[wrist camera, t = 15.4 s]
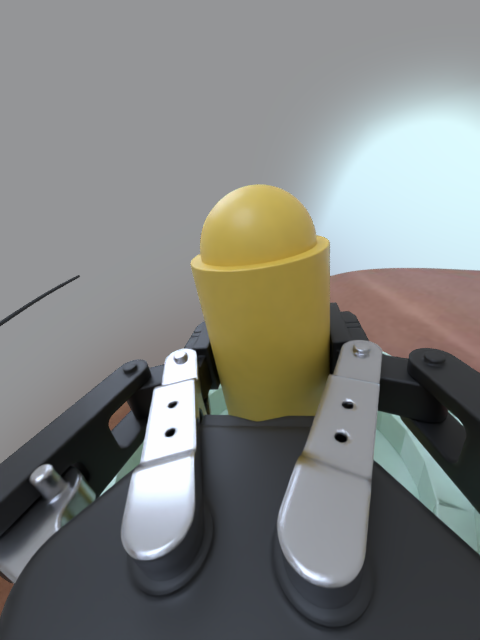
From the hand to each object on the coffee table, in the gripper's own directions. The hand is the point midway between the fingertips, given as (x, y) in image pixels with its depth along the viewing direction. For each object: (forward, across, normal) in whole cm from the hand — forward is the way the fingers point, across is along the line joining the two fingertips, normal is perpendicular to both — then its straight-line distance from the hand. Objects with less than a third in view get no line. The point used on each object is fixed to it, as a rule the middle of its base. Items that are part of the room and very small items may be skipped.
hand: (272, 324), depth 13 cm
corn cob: (-3, 0, +8) cm, 8 cm away
